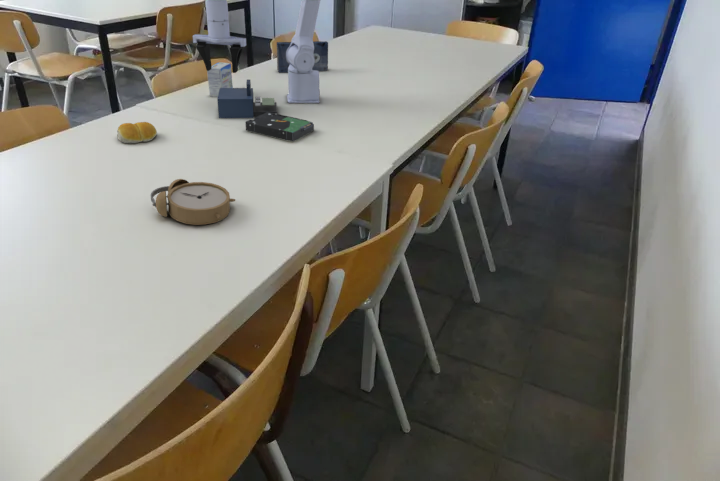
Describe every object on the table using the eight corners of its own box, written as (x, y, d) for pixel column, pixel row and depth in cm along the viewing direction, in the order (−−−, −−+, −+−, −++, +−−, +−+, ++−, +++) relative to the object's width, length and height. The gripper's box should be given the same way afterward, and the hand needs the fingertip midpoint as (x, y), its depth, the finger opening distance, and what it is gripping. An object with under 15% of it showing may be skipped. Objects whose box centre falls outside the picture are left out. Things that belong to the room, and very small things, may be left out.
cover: (253, 106, 160) (252, 76, 156) (253, 118, 151) (251, 87, 147) (221, 106, 159) (218, 76, 154) (219, 118, 150) (216, 87, 145)
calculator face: (274, 97, 158) (273, 96, 158) (274, 106, 152) (274, 105, 151) (255, 97, 158) (255, 96, 157) (255, 106, 151) (255, 105, 151)
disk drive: (245, 132, 142) (293, 143, 136) (244, 121, 140) (293, 132, 135) (267, 121, 150) (314, 131, 145) (267, 111, 148) (314, 120, 143)
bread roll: (161, 140, 134) (158, 124, 132) (122, 146, 130) (119, 130, 127) (151, 129, 140) (149, 114, 138) (114, 135, 135) (111, 119, 133)
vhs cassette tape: (326, 69, 202) (326, 40, 197) (328, 71, 199) (328, 42, 194) (276, 70, 196) (276, 41, 191) (278, 72, 194) (277, 43, 189)
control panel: (276, 107, 160) (276, 97, 159) (277, 117, 153) (276, 106, 151) (224, 107, 158) (223, 97, 157) (222, 117, 150) (221, 106, 149)
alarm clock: (216, 215, 97) (137, 191, 97) (214, 238, 99) (137, 215, 100) (240, 189, 106) (167, 167, 107) (237, 210, 109) (166, 189, 110)
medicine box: (223, 98, 166) (220, 69, 161) (209, 96, 166) (206, 67, 162) (233, 91, 172) (231, 63, 168) (220, 89, 173) (217, 61, 168)
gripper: (186, 20, 145) (191, 72, 152) (239, 24, 144) (242, 76, 151) (196, 16, 151) (201, 66, 158) (247, 20, 150) (250, 70, 157)
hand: (222, 70), depth 155 cm, fingers open, 7 cm apart
